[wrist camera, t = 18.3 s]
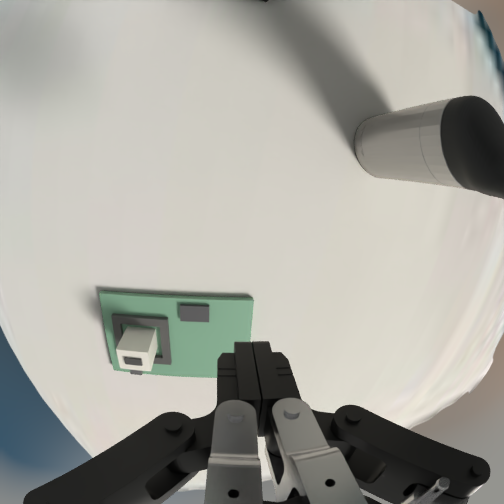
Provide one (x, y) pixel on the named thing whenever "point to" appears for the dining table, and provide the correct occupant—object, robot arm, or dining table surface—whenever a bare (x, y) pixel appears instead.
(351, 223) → the dining table surface
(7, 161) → the dining table surface
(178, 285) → the dining table surface
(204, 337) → the board
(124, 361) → the plug
